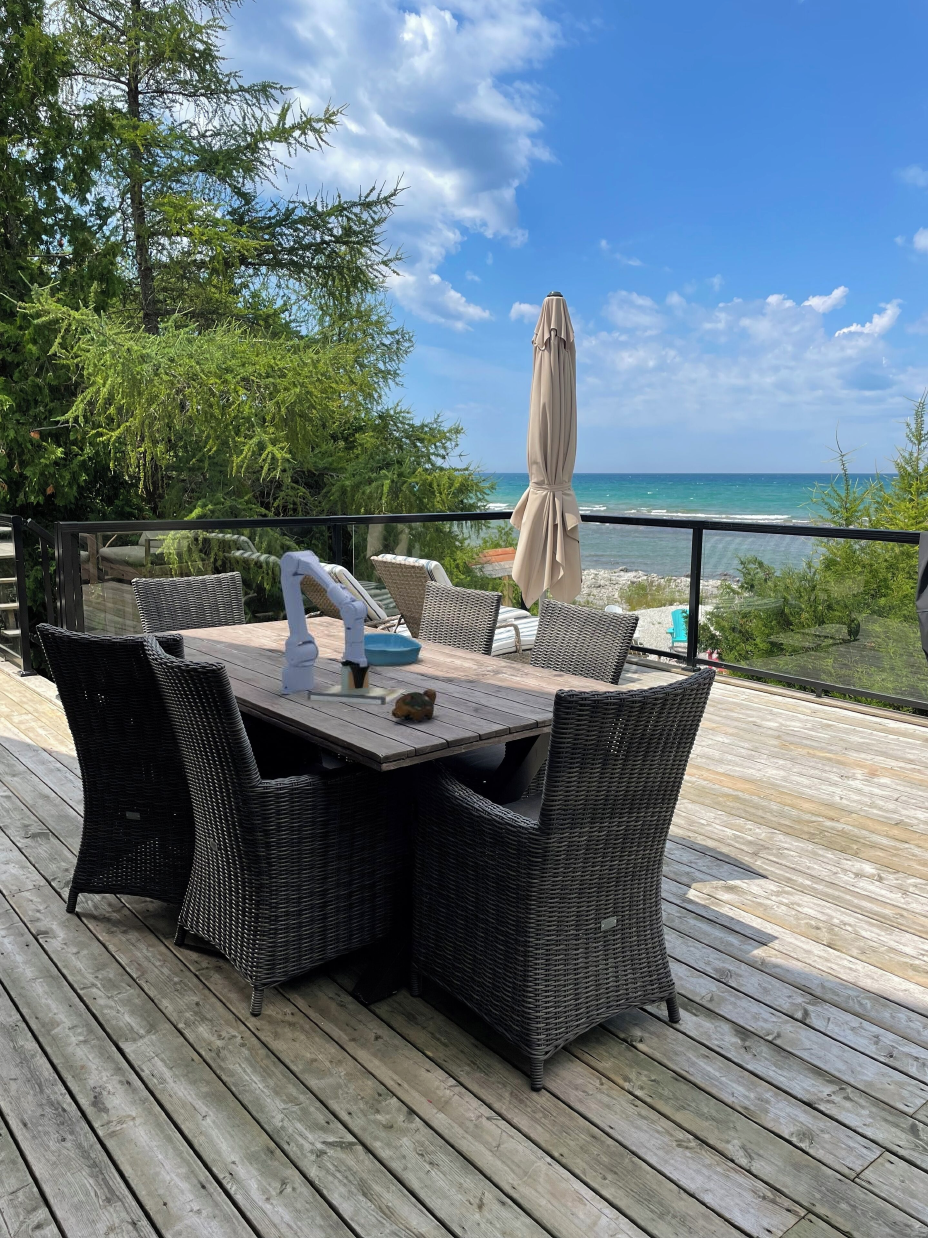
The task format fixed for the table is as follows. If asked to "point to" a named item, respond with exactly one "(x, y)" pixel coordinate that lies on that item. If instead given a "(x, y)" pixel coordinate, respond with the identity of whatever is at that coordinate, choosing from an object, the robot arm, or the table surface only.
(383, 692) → the shelf board
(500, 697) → the table surface
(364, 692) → the carton
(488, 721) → the table surface
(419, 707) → the decorative turtle
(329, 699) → the rail
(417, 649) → the casserole dish
